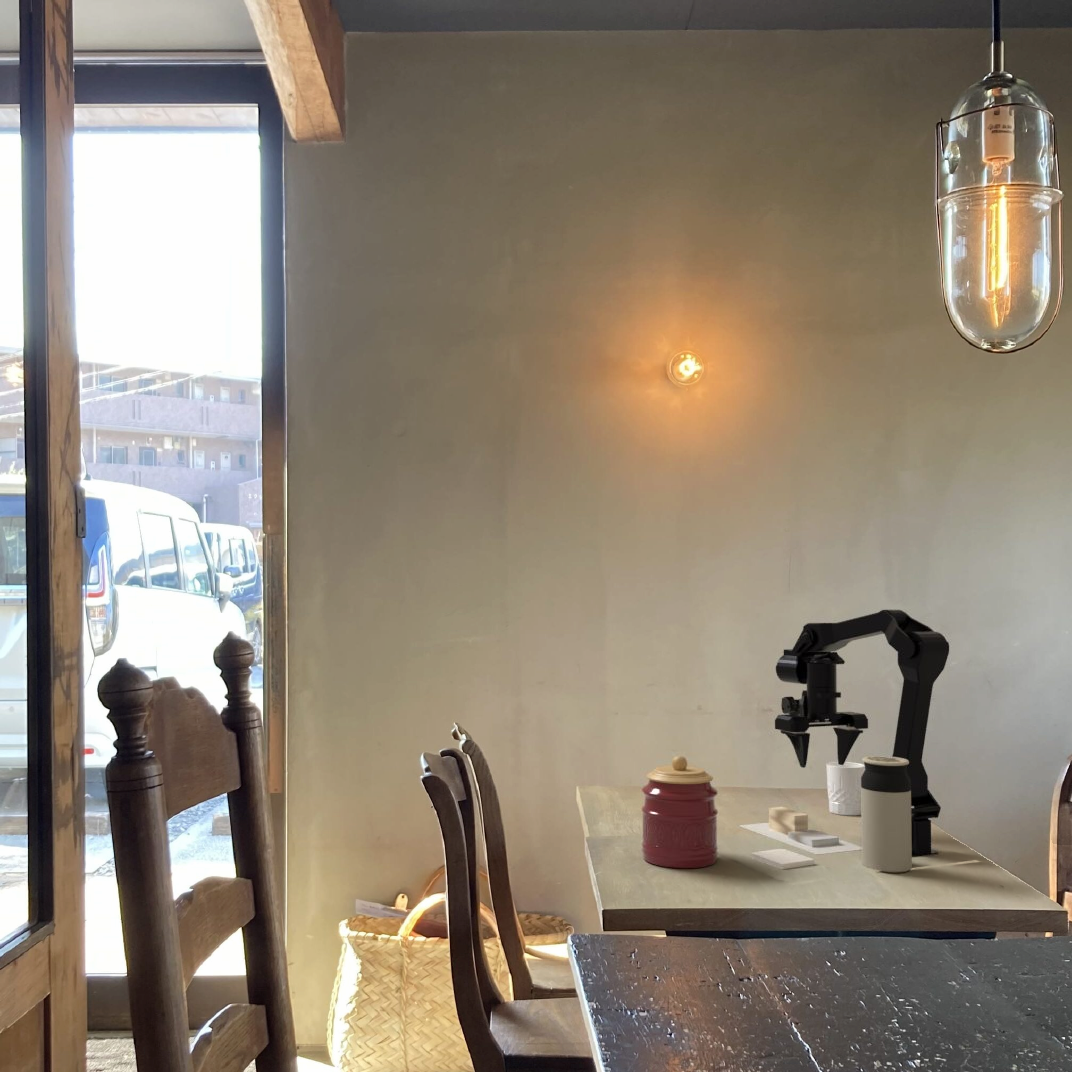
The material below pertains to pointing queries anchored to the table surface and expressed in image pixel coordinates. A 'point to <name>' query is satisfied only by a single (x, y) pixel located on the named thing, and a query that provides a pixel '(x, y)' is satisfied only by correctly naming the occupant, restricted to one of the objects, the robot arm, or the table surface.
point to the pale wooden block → (798, 827)
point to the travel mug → (886, 814)
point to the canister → (679, 817)
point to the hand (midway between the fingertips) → (822, 766)
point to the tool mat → (764, 830)
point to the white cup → (844, 787)
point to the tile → (782, 858)
